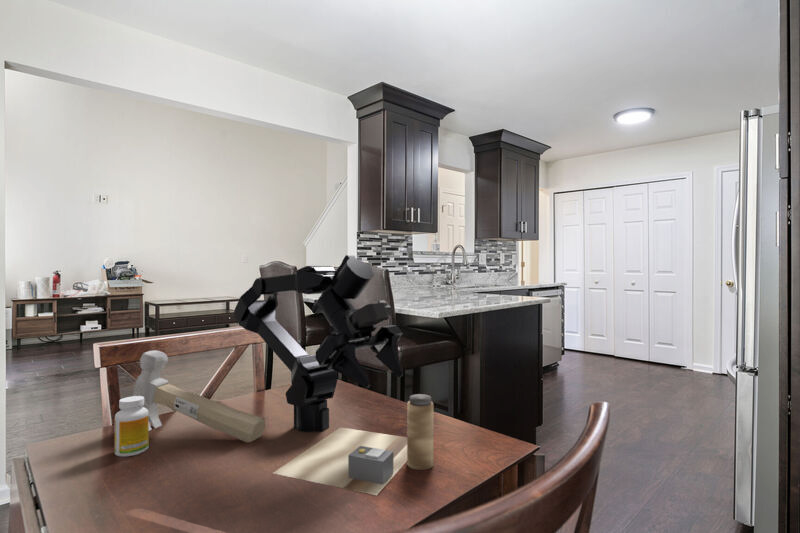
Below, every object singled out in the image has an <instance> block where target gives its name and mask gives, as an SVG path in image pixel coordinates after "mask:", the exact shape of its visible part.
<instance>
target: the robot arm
mask: <svg viewBox="0 0 800 533" xmlns="http://www.w3.org/2000/svg"><path fill="white" fill-rule="evenodd" d="M374 276H375V275H374V270H373V268H372V267H371V266H370V265H368V264H367V263H365V262H364V261H363V260H360V259H358V258H356V256H355V255H353V254H352V255H351V254H346V255H344V258H343V259H342V261H341V264H340V265H339V266H338V268H336V269H335V267H334V266H331V265H306V266H303V267H301V268H298V269H297V270H295V272H294V273H291V274H283V275H282V274H281V275H276V276H268V277H267V276H263V277H261V276H260V277H257V278H255V280H254V281H253V284H252V285H251V287H249V288H248V289H247V290H246V291H245V292H244V293H243V294H242V295H241V296H239V298H238V301H237V303H236V305H235V308H234V311H233V317H234V319H235V321H236V322H237V325H239V326H241V327H242V328H243V329H245V331H248V332H250V333H251V332H252V333H254V334H257V335H258V336H259V337H260V338H261V339H262V340H263V341H264V342H265V344H266V345H267V346H268V347H269V348H270V349H271V350H272V352H274V354H275V355H276V356H277V357H278V358H279V359H280V361H282V363H283V364H284V366H286V367H287V369H288V370H289V371H290V378H291V379H290V383H291V385H290V386H289V388H288V389H287V390H286V392H285V399H286V403H287V404H288V405H291V406H293V428H294V429H296V430H297V431H299V432H302V433H313V432H324V431H326V430H328V429H329V428H330V408H329V407H328V400H329V399H333V398H334V395H335V391H336V387H337V384H338V374H341V375H343V376H345V377H347V378H348V379H351V380H352V381H353V382H355V383H357V384H358V385H360V386H362V387H364V388H366V389H368V388H369V387H370V386H371V381H370V380H369V377H368V375H367V374H366V372H365V370H364V369H363V367H362V366H361V363H360V362H359V360H358V359H357V357H356V351H357V350H362V349H367V348H370V350H371V351H372V352H373V353H375V357H376V359H377V360H378V361H380V362H381V363H382V364H383V365H384V366H385V367H386V368H387V369H388V370H389V371H390V372H392V373H393V374H394V375H395V376H397V377H398V378H401V377H403V375H404V371H403V368H402V363H401V360H400V357H399V352H398V343H399V341H400V340H401V336H402V335H403V332H402V330H401V328H400V327H399V326H398V325H394V324H391V325H386V326H385V325H384V326H381V327H380V328H379V330H378V331H377V332H376V333H375V334H374V335H373V332H375V331H376V329H377V328H378V326H377V324H379V323H381V322H383V321H387V320H389V319H390V316H391V314H392V307H391V306H390V304H388V302H387V301H386V300H384V299H382V300H378V301H377V302H371V303H367V304H365V305H364V306H362V307H360V308H356V307H355V306H354V305H353V302H352V301H351V300H355V299H358V298H359V297H360V295H362V293H363V291H364V290H365V289H366V288H367V286H368V285H369V283H370V282H371V280H372V279H373V278H374ZM286 292H287V293H289V292H297V293H298V294H303V295H317V294H318V295H319V294H320V295H319V297H318V298H317V299H314V300H313V306H312V310H311V311H312V314H320V313H322V314H323V315H324V317H325V318H326V320H327V322H328V323H329V325H330V328H329V329H328V331H329V333H330V334H329V335H327V336H326V337H325V339H324V340H323V341H322V342H321V344H320V346H319V347H318V348H317V349H316V350H315V354H308V352H307V351H306V350H305V349H304V348H302V346H301V344H299V343H298V342H297V341H296V340H295V338H293V336H291V334H290V333H288V331H287V330H286V329H285V328H284V327H283V326H282V325H281V324H280V323H279V322H278V321H277V319H276V318H277V316H276V315H277V311H276V309H277V308H278V306H279V304H278V303H279V302H278V295H279V293H286ZM264 295H268V298H267V299H260V298H261V297H262V296H264Z"/></svg>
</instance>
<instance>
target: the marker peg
mask: <svg viewBox="0 0 800 533" xmlns="http://www.w3.org/2000/svg"><path fill="white" fill-rule="evenodd" d="M406 405H407V407H406V408H407V410H406V411H407V412H406V413H407V415H406V418H407V419H406V420H407V421H406V422H407V423H406V424H407V426H406V427H407V430H406V432H407V433H406V434H407V435H406V436H407V462H406V465H407V467H408V468H409V469H412V470H415V471H426V470H429V469H431V468H433V467H434V402H433V401H432V396H430V395H428V394H425V393H423V394H422V393H417V394H411V395H409V400H408V401H407V403H406Z"/></svg>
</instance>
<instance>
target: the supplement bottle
mask: <svg viewBox="0 0 800 533" xmlns="http://www.w3.org/2000/svg"><path fill="white" fill-rule="evenodd" d="M143 405H144V397H143V396H133V395H132V396H127V397H124V398H123V397H122V398H121V399H119V401H118V408H119V409H120V410H119V411H117V412H116V413H115V415H114V454H115V455H116V456H117V457H122V458H123V457H131V456H132V457H133V456H137V455H140V454H142V453H145V452H146V451H147V450H148V449H149V443H150V442H149V431H148V418H149V414H148V410H147V409H146V408H144V407H143Z"/></svg>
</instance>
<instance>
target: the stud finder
mask: <svg viewBox="0 0 800 533" xmlns="http://www.w3.org/2000/svg"><path fill="white" fill-rule="evenodd" d="M392 474H393V451H388V450H383V449H377V448H370V447H364V446H359V447H358V448H357V449H356V450H354V451H353V452H352V453H351V454H349V455H348V478H353V479H358V480H363V481H368V482H373V483H378V484H384V483H385V482H386V481H387V480H388V479H389V478H390V476H391V475H392Z"/></svg>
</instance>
